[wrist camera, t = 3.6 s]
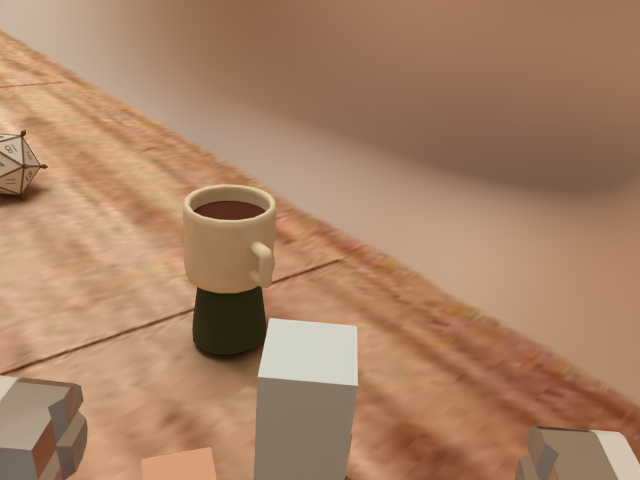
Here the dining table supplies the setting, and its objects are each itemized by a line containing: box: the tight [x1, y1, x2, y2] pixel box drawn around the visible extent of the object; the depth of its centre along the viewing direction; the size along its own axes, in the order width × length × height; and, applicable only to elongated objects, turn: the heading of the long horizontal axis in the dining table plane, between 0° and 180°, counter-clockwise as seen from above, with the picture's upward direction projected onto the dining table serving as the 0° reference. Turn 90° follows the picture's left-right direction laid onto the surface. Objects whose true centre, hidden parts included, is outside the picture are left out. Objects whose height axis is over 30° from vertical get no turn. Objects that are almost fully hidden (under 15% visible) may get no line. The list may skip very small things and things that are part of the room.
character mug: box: [183, 184, 276, 354], centre depth 48 cm, size 11×7×13 cm, turn 39°
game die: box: [0, 130, 48, 201], centre depth 71 cm, size 9×8×10 cm
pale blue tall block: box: [254, 318, 358, 480], centre depth 29 cm, size 4×4×16 cm
